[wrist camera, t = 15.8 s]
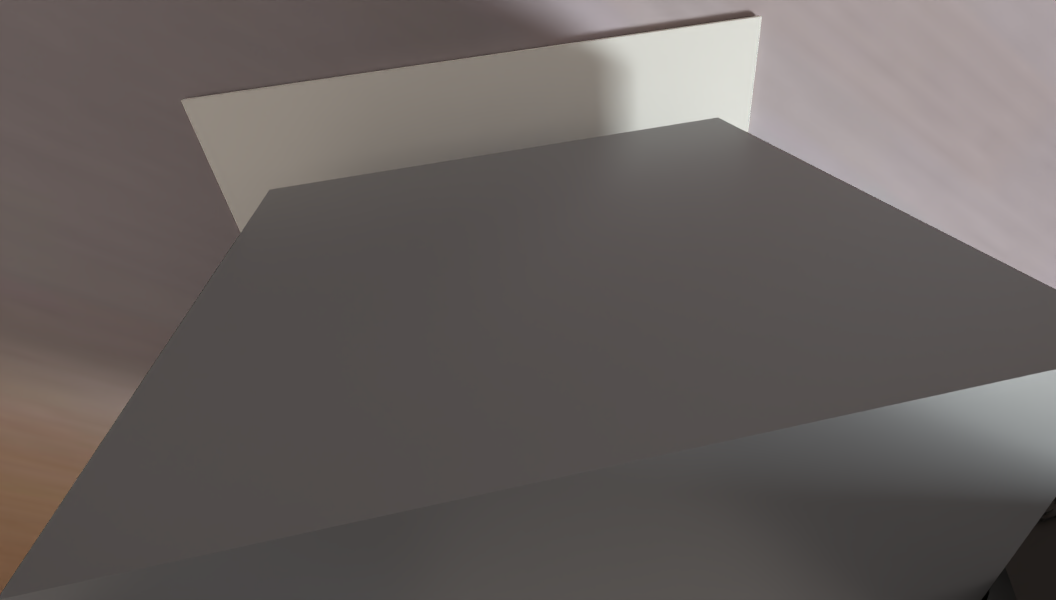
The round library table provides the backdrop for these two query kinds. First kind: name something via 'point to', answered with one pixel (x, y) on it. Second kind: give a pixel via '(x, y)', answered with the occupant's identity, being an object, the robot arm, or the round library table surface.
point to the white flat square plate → (472, 107)
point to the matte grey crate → (577, 394)
